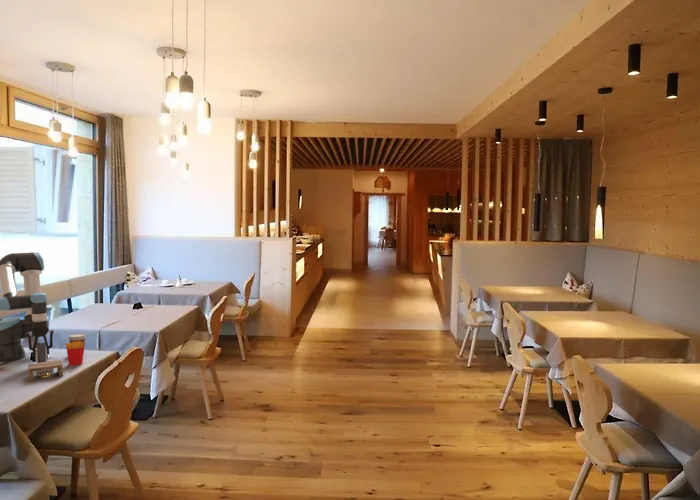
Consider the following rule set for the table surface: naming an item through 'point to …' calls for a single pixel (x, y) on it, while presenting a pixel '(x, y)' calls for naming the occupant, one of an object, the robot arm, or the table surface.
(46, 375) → the brass disc
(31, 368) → the walnut bench
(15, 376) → the table surface
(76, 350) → the french fries
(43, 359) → the steel scraper
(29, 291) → the robot arm
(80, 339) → the disposable coffee cup
